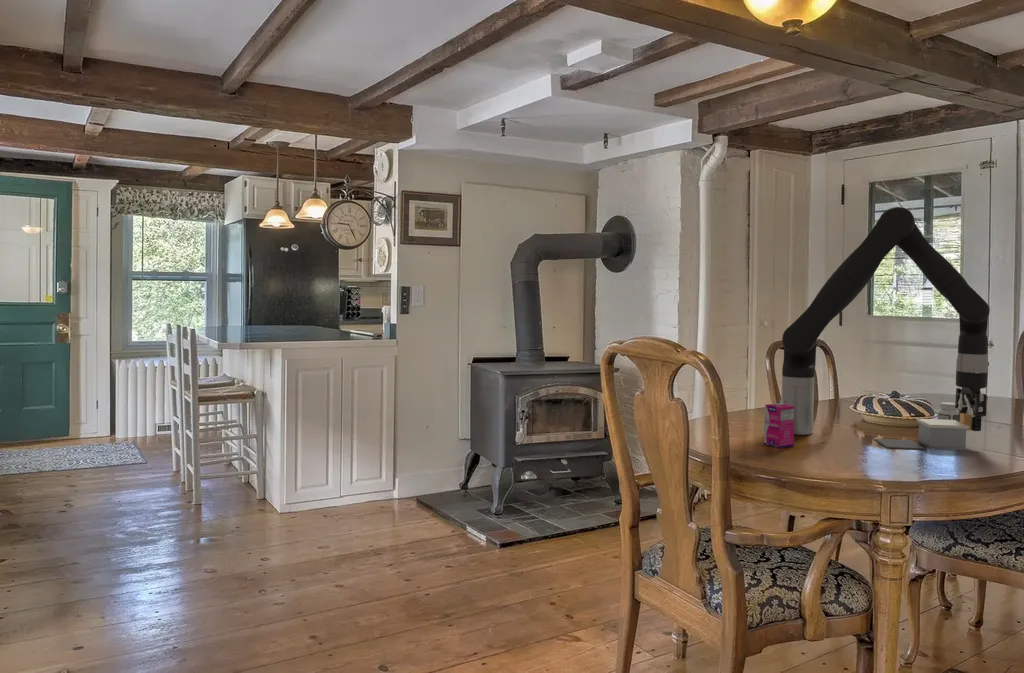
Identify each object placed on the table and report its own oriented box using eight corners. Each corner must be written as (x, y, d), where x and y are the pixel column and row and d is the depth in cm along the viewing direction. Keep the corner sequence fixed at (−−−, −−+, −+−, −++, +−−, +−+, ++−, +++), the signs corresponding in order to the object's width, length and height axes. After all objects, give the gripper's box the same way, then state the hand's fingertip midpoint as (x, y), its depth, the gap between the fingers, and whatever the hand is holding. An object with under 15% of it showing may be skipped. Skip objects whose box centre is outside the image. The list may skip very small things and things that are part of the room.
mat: (887, 448, 212) (887, 446, 212) (873, 440, 223) (874, 438, 223) (926, 449, 210) (926, 448, 210) (910, 441, 222) (910, 440, 222)
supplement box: (762, 444, 215) (764, 404, 215) (778, 442, 218) (779, 402, 218) (778, 448, 210) (779, 407, 210) (794, 446, 213) (795, 405, 212)
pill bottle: (953, 434, 233) (954, 402, 232) (962, 438, 227) (964, 404, 227) (933, 434, 233) (935, 401, 233) (942, 437, 228) (943, 404, 227)
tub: (929, 448, 211) (930, 427, 211) (918, 442, 220) (919, 421, 220) (965, 450, 210) (966, 428, 209) (952, 443, 219) (953, 422, 218)
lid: (929, 431, 211) (929, 415, 210) (916, 425, 220) (917, 409, 220) (984, 433, 208) (985, 416, 208) (969, 427, 218) (970, 411, 218)
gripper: (947, 367, 220) (944, 423, 221) (967, 372, 206) (965, 432, 207) (975, 367, 219) (973, 424, 220) (998, 373, 205) (995, 433, 206)
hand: (969, 428), depth 213 cm, fingers open, 8 cm apart
